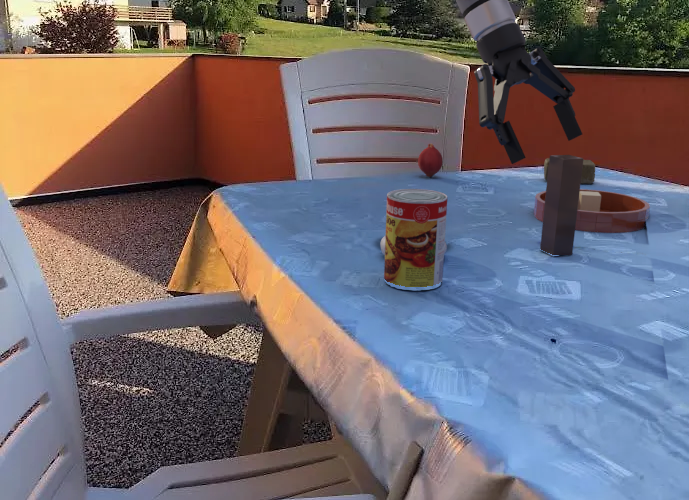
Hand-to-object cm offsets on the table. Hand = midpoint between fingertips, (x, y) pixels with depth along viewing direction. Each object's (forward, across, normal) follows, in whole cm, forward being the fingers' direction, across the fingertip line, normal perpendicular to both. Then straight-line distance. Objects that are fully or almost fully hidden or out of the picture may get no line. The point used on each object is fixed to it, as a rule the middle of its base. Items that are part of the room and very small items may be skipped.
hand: (548, 149), depth 117 cm
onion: (-7, -12, -51) cm, 53 cm away
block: (+13, -15, -12) cm, 23 cm away
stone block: (+7, -37, -36) cm, 52 cm away
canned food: (+10, +37, +4) cm, 38 cm away
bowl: (+15, -11, -9) cm, 20 cm away
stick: (+16, +10, +2) cm, 18 cm away
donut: (+7, +30, -4) cm, 31 cm away
